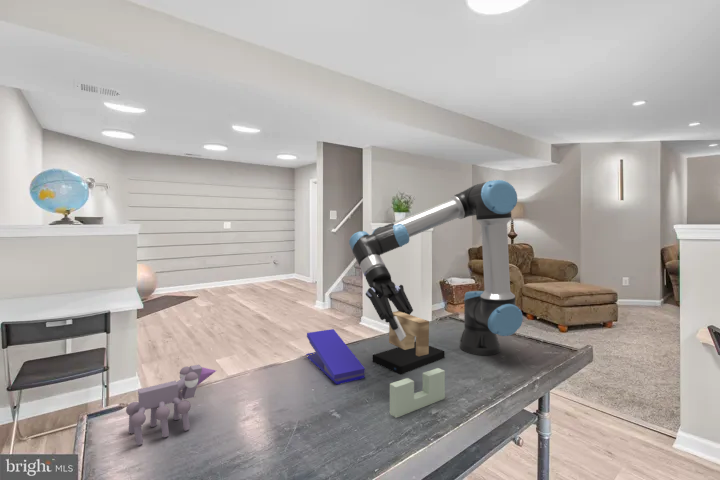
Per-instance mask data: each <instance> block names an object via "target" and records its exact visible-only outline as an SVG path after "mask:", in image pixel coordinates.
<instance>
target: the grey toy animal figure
mask: <svg viewBox="0 0 720 480" xmlns="http://www.w3.org/2000/svg"><path fill="white" fill-rule="evenodd" d="M216 372H217V370H216V369H211V368H207V367H203V366H201V364H194V365H190V366H184V367H181V369H180V370H179V379H178V380H177V381H176V380H172V381H168V382H164V383H160V384H159V383H158V384H154V385H152V386H147V387H143V388H138V390H137V395H138V396H137V397H138V401H132V402H130V403H129V404H128V405H127V406H126V409H125V412H126V414H127V416H128V434H129V433H131V434H134V438H135V445H136V446H140V445H142V444H143V443H144V437H143V430H142V425H144V423H145V422H146V418H147V416H146V414H145V412H146V410H149V409H150V420H149V421H150V425H149V426H150V428H151V427H152V428H153V427H154V428H155V427H156V426H157V421H160V427H161V433H162V438H167V437H169V435H170V432H169V431H170V430H169V423H168V417H169V416H170V412H171V411H170V408H169V407H168V406H166V405H167V404H171V403H172V404H173V420H175V421H177V420H180V419H181V417H180V416H182V426H183V431H184V432H185V431H189V430H190V429H191V425H190V424H191V423H190V417H189V411H190V409H191V407H192V406H191V403H190V401H189V400H187V399H191V398H194V397H195V394H196V391H197V387H198V386H199V385H200V384H202V383H203V382H204V381H206V380H207V379H208V378H210V376H212V375H213V374H215V373H216ZM180 414H181V415H180ZM134 432H135V433H134ZM131 434H130V435H131Z"/></svg>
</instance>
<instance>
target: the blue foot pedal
mask: <svg viewBox="0 0 720 480" xmlns="http://www.w3.org/2000/svg"><path fill="white" fill-rule="evenodd" d="M306 338H307V339H308V341H309V345H311V348H312V349H313V350H314V352H310V353H309V352H308V353H305V355H309V356H308V357H307V359H309V361H311V362H312V363H313V364H314V365H315V367H317V368H318V367H319V368H320V369H321V370H320V369H319V368H318V369H319V370H320V371H321V372H323V373H324V374H325V375H326V376H327V377H328V378H329V379H330V380H331V381H334V382H333V383H334V384H335V385H340V384H341V383H342V384H346V383H349V382H354V381H357V380H361V379H365V374H366V373H365V371H366V368H365V366H364V365H363V364H362V363H361V361H360V360H359V359H358V358H357V356H356V354H354V353H353V352H352V349H350V347H348V345H347V344H346V342H344V340H343V339H342V338H341V337H340V334H338V333H337V331H336V330H335V329H334V328H331V329H325V330H319V331H311V332H306ZM313 353H315V354H313ZM310 354H312V355H310ZM345 382H346V383H345Z"/></svg>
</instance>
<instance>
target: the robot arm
mask: <svg viewBox="0 0 720 480" xmlns="http://www.w3.org/2000/svg"><path fill="white" fill-rule="evenodd" d="M517 203H518V193H517V191H516V189H515V187H514V186H513V185H512V184H511V183H510V182H508V181H506V180H504V179H498V180H497V179H493V180H488V181H485V182H482V183H478V184H475V185H472V186H470V187H468V188H467V189H465V190H463V191H460V192H459V193H457V194H454V195H451V197H450V199H448V200H446V201H444V202H441V203H439V204H435V205H433V206H431V207H429V208H426V209H423V210H421V211H419V212H415V213H413V214H412V215H409V216H406V217H404V218H400V219H399V220H396V221H393V222H392V223H388V224H386V225H384V226H379V227H377V228H375V229H373V231H372V233H371V234H369V233H368V232H367V231H365V230H363V231H360V230H359V231H357V232H355V233H353V234H352V235H351V236H350V238H349V240H348V244H349V246H350V249H351V251H352V254H353V256H354V258H355V260H356V262H357V263H358V265H359V267H360V269H361V272H362V274H363V276H364V278H365V280H366V282H367V284H368V286H369V288H368V289H367V291H365V296H366V297H367V298H368V299H369V300H370V302H371V303H372V305H373V308H374V310H375V311H376V313H377V315H378V317H379V319H380V320H381V321H385V322H386V323H388V325H389V324H390V326H391V328H392V329H393V330H395V332H396V334H397V336H398V338H399V340H400V341H402V340H403V339H404V338H405V337H406V334H405V332H404V330H403V328H402V326H401V324H400V322H399V320H398V318H397V316H394V317H393V312H394V311H393V310H392V307H391V304H390V302H391V303H392V304H393V305H394V307H395V308H396V309H397V311H400V312H403V313H406V314H409V315H411V314H412V313H413V312H414V309H413V307H412V305H411V303H410V300H409V298H408V297H407V294H406V292H405V289H404V285H402V284H399V285H396V283H395V282H393V281H392V275H391V274H390V271H389V270H388V268H387V266H386V264H385V262H384V261H383V259H382V257H381V256H382V255H383V254H386V253H388V252H391V251H393V250H396V249H398V248H401V247H403V246H405V245H407V244H409V243H410V238H411V237H413V236H416V235H419V234H421V233H424V232H426V231H428V230H431V229H434V228H436V227H438V226H441V225H444V224H445V223H448V222H451V221H454V220H456V219H460V220H463V219H465V218H468V217H469V218H470V217H475V216H476V217H475V219H476V220H475V221H476V222H477V223H479V224H480V227H481V228H480V229H481V245H482V247H481V248H482V265H483V282H484V283H483V284H484V285H483V287H484V290H471V291H467V292H465V294H464V298H463V302H464V303H463V304H464V306H463V307H464V314H463V316H464V317H463V318H464V328H463V332H462V334H461V337H460V340H459V349H460V350H462V351H463V352H466V353H469V354H472V355H477V356H479V355H480V356H494V355H497V354H499V353H500V352H501V344H500V343H499V342H500V341H499V339H498V336H501V337H508V336H512V335H514V334H515V333H517V331H518V330H519V329H521V326H522V325H523V320H524V318H523V317H524V316H523V312H522V310H521V308H519V306H517V305H516V295H515V293H513V292H512V291H511V277H510V276H511V275H510V261H509V260H510V259H509V258H510V257H509V239H508V236H509V235H508V223H509V222H510V221H511V219H512V211H513V210H514V209H515V207H516V206H517Z"/></svg>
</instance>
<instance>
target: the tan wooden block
mask: <svg viewBox="0 0 720 480" xmlns="http://www.w3.org/2000/svg"><path fill="white" fill-rule="evenodd" d="M392 312H393V317H394V316H397V318H398V320H399V322H400V324H401V326H402V328H403V330H404V332H405V334H406V337H405V338H404V339H403V340H402V341H400V340H399V338H398V336H397V334H396V332H395V330H393V329H392V328H391V326H390V324H389V323H388V326H389V327H388V331H389V332H388V333H389V334H388V336H389V337H388V343H390V344H391V345H394V346H396V348H397V347H400V348H402V349H404V350H407V349H411V348H414V342H416V355H417V356H423V355H426V354H429V346H430V341H429V340H430V339H429V337H430V321H429V320H427V319H424V318H421V317H418V316H415V315H411V314H410V315H409V314H406V313H403V312H400V311H398V310H397V311H392Z"/></svg>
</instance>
